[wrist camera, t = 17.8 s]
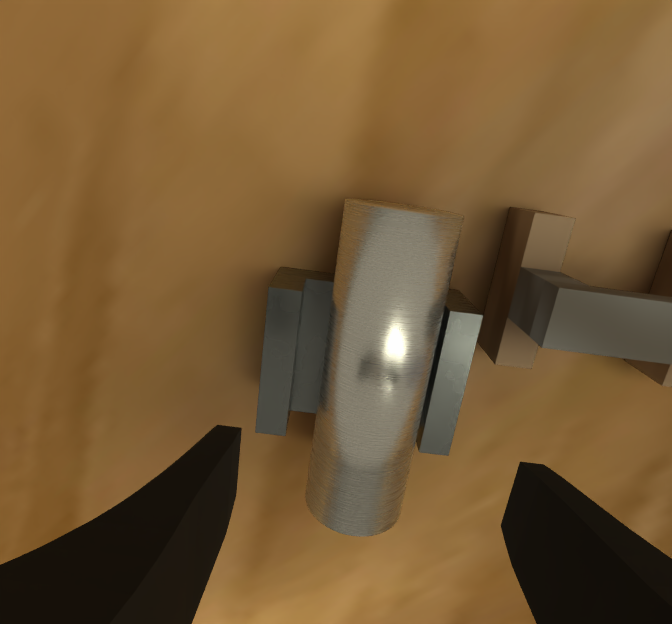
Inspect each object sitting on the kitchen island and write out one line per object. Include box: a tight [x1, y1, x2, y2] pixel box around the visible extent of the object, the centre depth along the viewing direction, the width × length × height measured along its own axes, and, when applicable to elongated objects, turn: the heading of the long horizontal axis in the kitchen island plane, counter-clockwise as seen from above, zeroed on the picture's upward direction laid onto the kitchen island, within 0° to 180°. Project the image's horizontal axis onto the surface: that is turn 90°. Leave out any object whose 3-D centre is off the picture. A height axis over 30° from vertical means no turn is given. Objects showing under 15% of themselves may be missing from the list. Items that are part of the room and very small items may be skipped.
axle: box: [305, 199, 464, 536], centre depth 17 cm, size 12×4×4 cm, turn 172°
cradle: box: [255, 267, 483, 456], centre depth 19 cm, size 6×8×4 cm
